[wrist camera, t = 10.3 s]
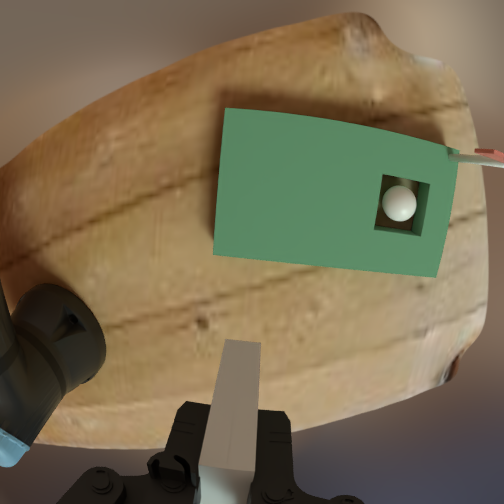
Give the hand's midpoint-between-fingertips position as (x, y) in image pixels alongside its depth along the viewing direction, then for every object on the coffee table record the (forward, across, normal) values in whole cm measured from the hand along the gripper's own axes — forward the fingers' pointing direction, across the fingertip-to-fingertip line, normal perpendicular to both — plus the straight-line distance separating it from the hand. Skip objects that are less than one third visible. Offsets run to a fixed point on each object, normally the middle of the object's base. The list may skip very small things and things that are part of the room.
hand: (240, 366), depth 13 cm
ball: (+19, +14, +6) cm, 24 cm away
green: (+20, +8, +6) cm, 23 cm away
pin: (+18, +17, +12) cm, 28 cm away
